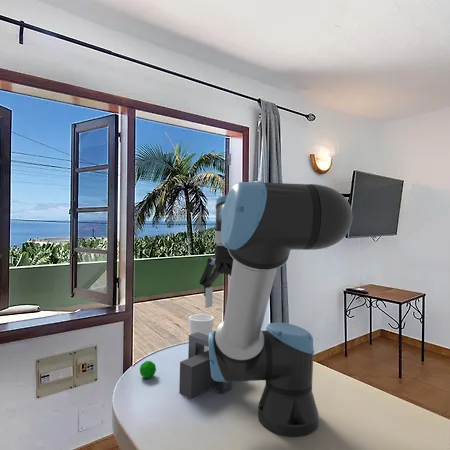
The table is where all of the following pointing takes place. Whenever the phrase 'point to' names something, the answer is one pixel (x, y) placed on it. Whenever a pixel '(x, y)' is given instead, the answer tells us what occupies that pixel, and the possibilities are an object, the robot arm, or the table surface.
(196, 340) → the grey arch
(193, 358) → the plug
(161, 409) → the table surface
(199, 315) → the foam cup
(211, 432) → the table surface
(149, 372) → the polyhedron
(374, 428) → the table surface
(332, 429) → the table surface
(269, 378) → the robot arm
